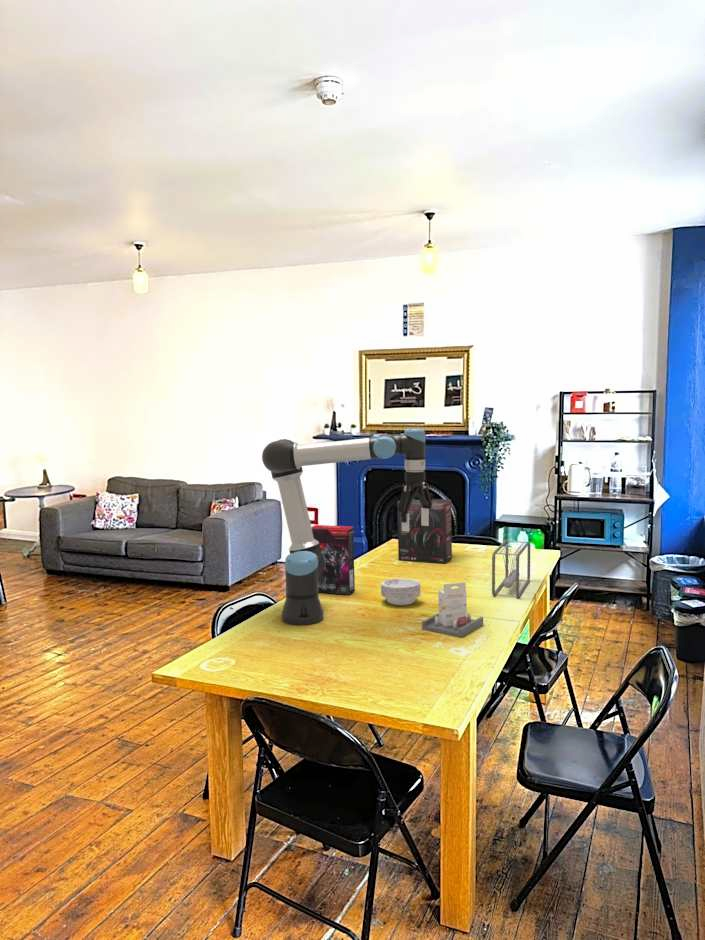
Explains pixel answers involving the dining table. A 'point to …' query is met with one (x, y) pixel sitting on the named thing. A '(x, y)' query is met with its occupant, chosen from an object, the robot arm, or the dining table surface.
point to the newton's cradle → (514, 574)
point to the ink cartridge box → (452, 604)
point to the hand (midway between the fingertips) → (415, 528)
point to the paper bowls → (400, 591)
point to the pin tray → (454, 630)
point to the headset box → (426, 533)
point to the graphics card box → (336, 558)
